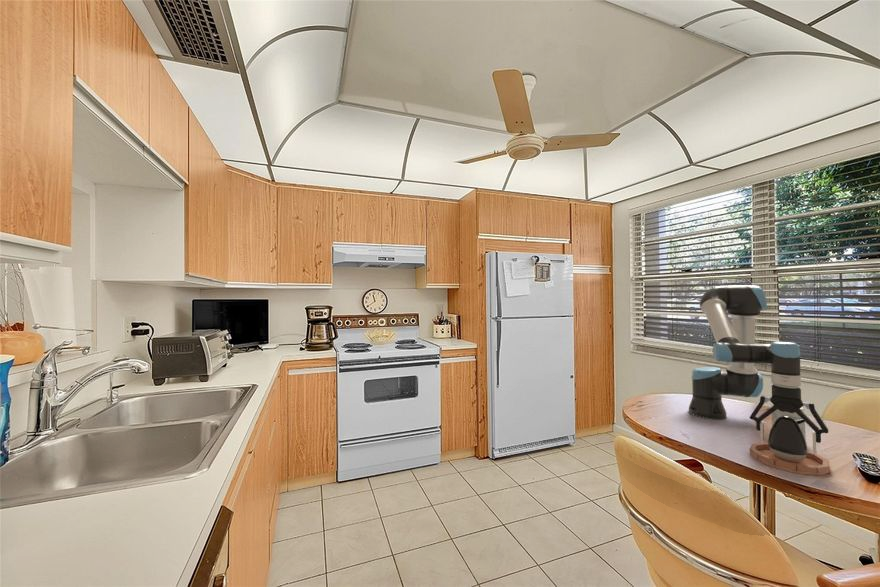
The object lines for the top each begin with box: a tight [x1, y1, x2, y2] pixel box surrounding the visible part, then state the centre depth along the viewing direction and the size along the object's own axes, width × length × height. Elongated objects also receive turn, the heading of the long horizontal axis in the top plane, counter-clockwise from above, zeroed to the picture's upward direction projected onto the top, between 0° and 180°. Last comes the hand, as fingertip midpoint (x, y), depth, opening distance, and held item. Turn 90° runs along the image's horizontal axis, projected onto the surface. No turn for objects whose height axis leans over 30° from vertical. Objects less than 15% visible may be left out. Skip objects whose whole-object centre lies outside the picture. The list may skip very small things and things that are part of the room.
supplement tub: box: [771, 403, 807, 440], centre depth 142 cm, size 10×10×15 cm
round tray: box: [749, 441, 831, 476], centre depth 126 cm, size 20×20×2 cm
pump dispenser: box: [767, 416, 809, 462], centre depth 126 cm, size 10×10×15 cm
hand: (787, 445), depth 126 cm, fingers open, 13 cm apart
